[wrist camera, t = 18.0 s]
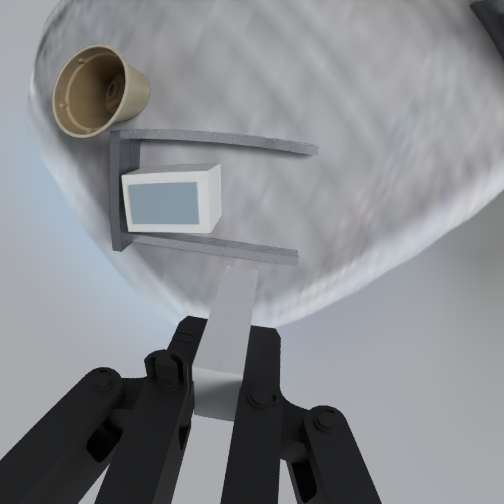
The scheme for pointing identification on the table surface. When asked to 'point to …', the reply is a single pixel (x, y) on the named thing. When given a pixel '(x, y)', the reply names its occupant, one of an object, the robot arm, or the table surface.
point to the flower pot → (97, 91)
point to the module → (173, 198)
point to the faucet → (492, 20)
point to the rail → (126, 161)
